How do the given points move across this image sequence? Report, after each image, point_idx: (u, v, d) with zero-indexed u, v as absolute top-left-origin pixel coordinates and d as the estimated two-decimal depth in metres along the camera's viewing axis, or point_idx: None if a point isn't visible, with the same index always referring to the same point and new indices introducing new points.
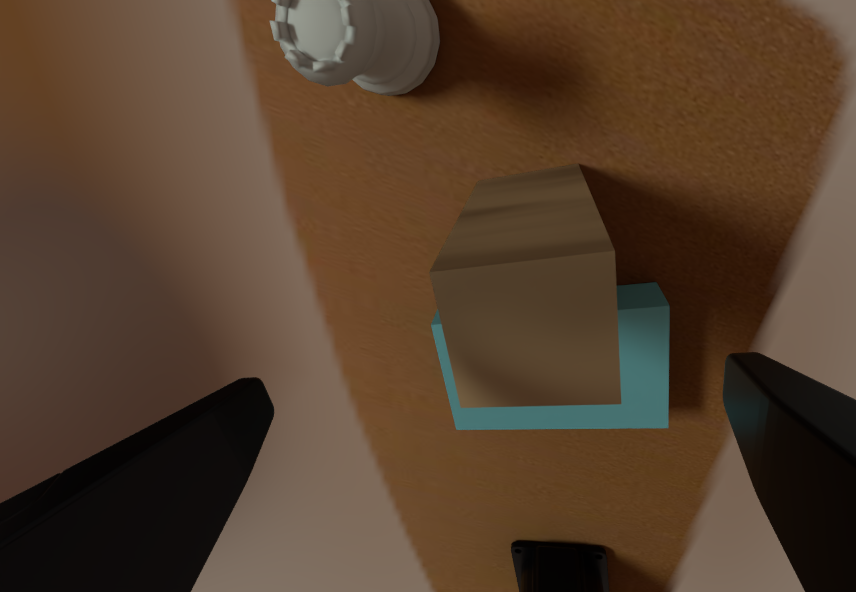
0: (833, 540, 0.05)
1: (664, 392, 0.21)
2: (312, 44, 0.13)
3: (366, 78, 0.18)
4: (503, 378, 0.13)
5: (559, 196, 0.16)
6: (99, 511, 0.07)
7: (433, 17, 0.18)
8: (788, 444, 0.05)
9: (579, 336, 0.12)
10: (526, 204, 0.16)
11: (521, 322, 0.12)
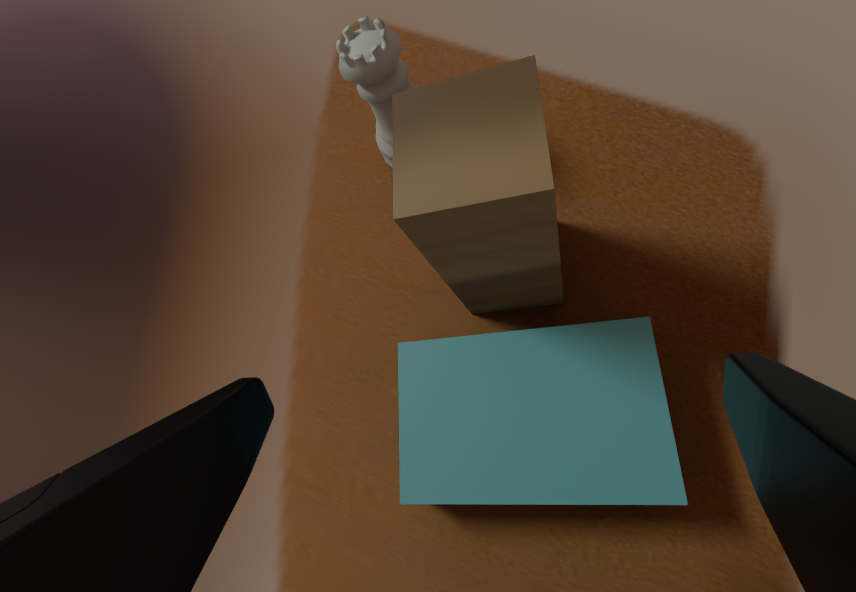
0: (833, 540, 0.05)
1: (669, 439, 0.16)
2: (358, 53, 0.20)
3: (391, 139, 0.25)
4: (439, 179, 0.13)
5: None
6: (99, 511, 0.07)
7: None
8: (788, 444, 0.05)
9: (510, 125, 0.13)
10: None
11: (460, 122, 0.13)
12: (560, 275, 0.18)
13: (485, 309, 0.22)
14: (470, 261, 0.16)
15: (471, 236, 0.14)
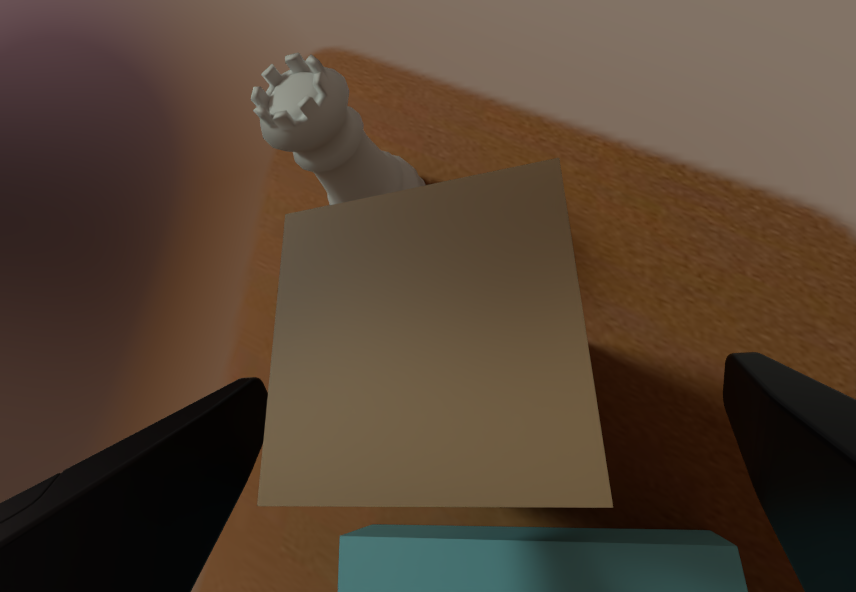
0: (833, 540, 0.05)
1: None
2: (282, 107, 0.14)
3: None
4: (355, 423, 0.06)
5: None
6: (98, 511, 0.07)
7: None
8: (788, 444, 0.05)
9: (506, 316, 0.06)
10: None
11: (404, 293, 0.06)
12: None
13: None
14: None
15: None
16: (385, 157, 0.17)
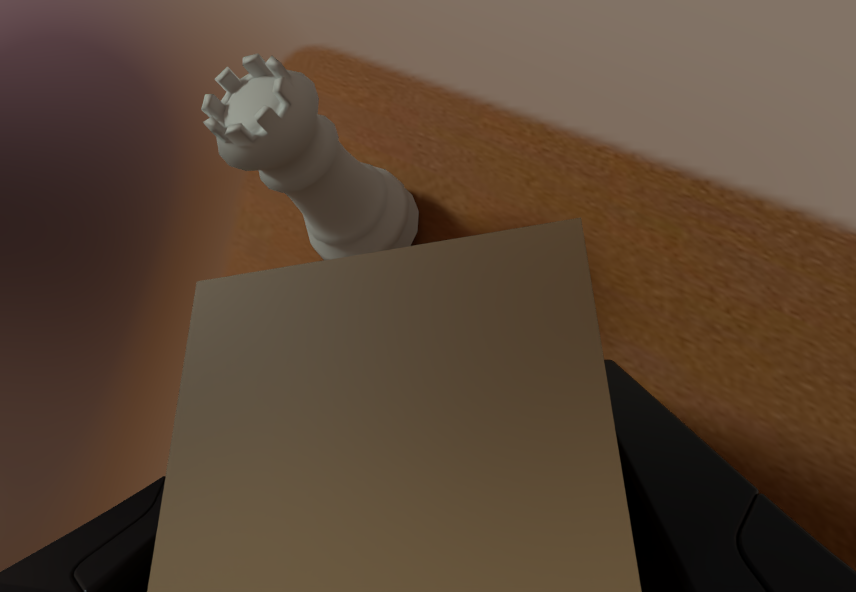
0: None
1: None
2: (239, 118, 0.11)
3: (324, 236, 0.16)
4: None
5: None
6: None
7: (414, 209, 0.17)
8: None
9: (501, 474, 0.04)
10: None
11: (350, 418, 0.04)
12: None
13: None
14: None
15: None
16: (367, 172, 0.15)
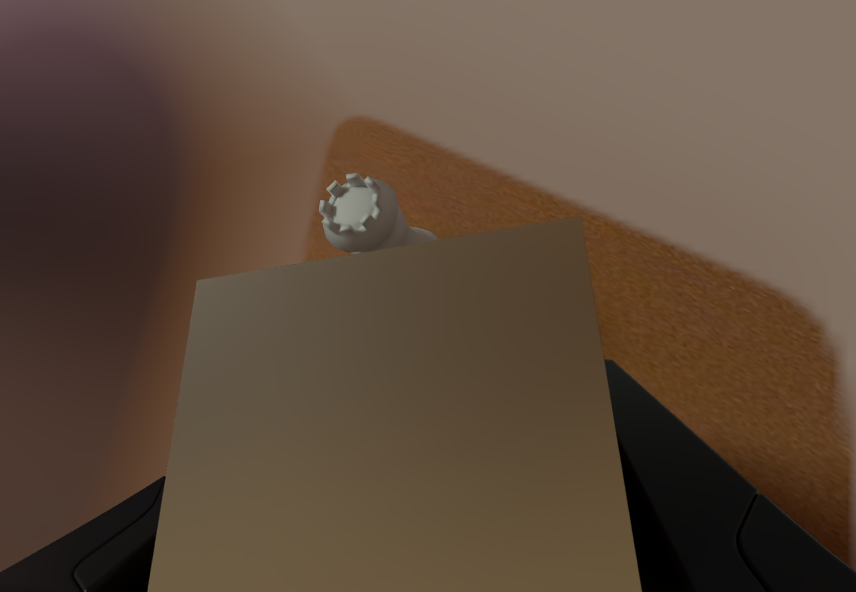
0: None
1: None
2: (345, 218, 0.17)
3: None
4: None
5: None
6: None
7: None
8: None
9: (501, 472, 0.04)
10: None
11: (351, 417, 0.04)
12: None
13: None
14: None
15: None
16: (420, 239, 0.21)
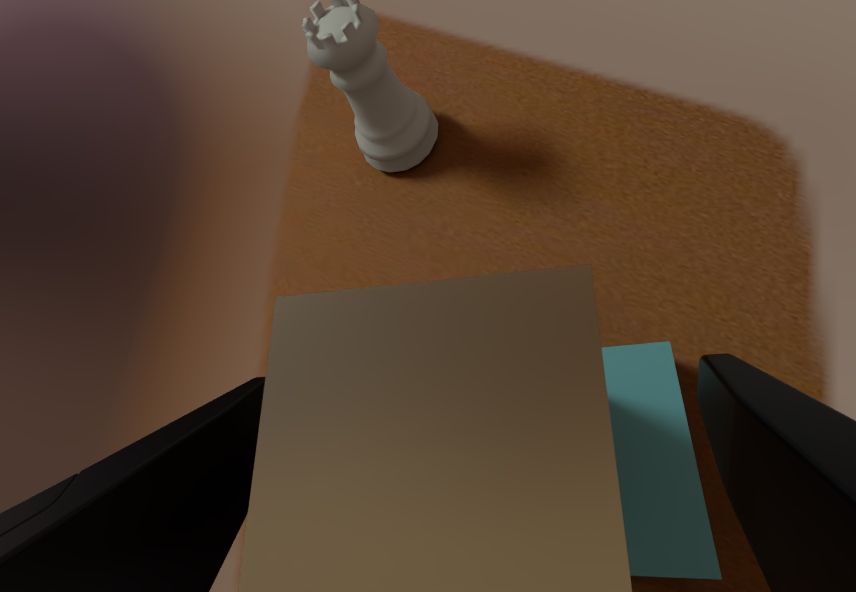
0: (792, 538, 0.05)
1: (696, 494, 0.13)
2: (327, 32, 0.18)
3: (371, 135, 0.22)
4: (345, 569, 0.05)
5: None
6: (117, 512, 0.06)
7: (435, 121, 0.23)
8: (752, 444, 0.05)
9: (525, 457, 0.05)
10: None
11: (407, 412, 0.06)
12: None
13: None
14: None
15: None
16: (403, 86, 0.21)
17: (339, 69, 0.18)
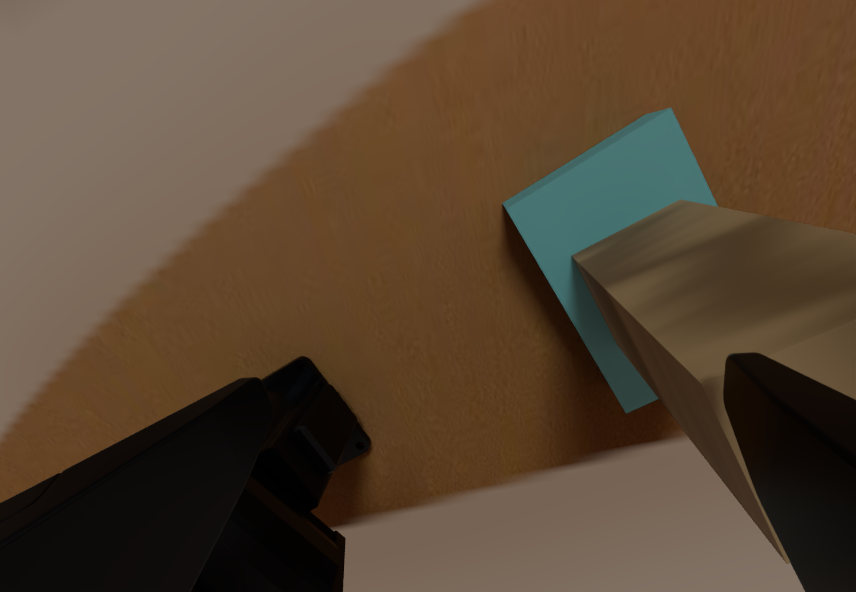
0: (833, 540, 0.05)
1: None
2: None
3: None
4: None
5: None
6: (99, 511, 0.07)
7: None
8: (788, 444, 0.05)
9: None
10: None
11: None
12: None
13: (582, 274, 0.18)
14: (648, 354, 0.12)
15: (690, 407, 0.10)
16: None
17: None
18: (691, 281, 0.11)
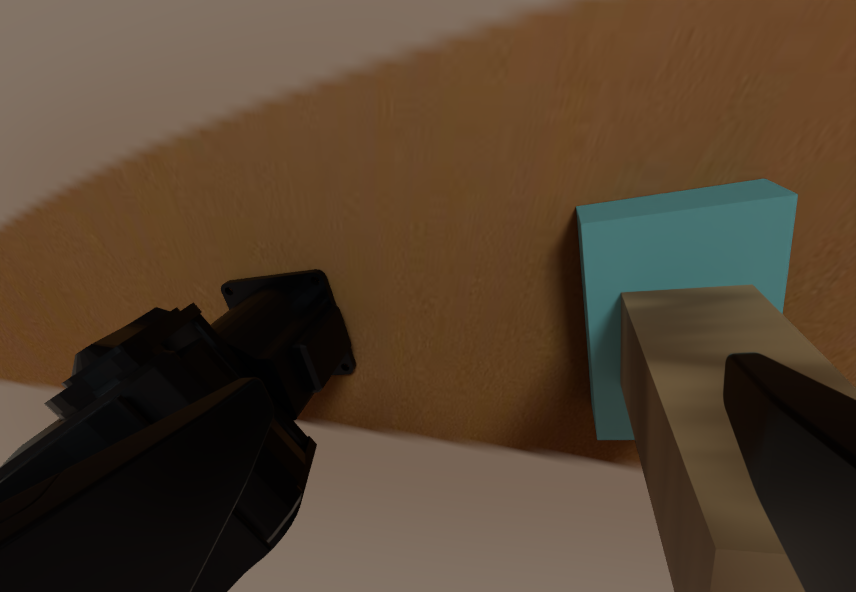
0: (833, 540, 0.05)
1: None
2: None
3: None
4: None
5: None
6: (99, 511, 0.07)
7: None
8: (788, 444, 0.05)
9: None
10: None
11: None
12: (638, 453, 0.16)
13: (623, 315, 0.18)
14: (661, 447, 0.12)
15: (679, 523, 0.11)
16: None
17: None
18: None
